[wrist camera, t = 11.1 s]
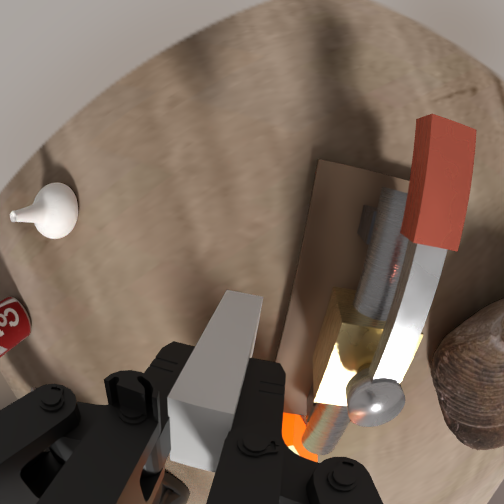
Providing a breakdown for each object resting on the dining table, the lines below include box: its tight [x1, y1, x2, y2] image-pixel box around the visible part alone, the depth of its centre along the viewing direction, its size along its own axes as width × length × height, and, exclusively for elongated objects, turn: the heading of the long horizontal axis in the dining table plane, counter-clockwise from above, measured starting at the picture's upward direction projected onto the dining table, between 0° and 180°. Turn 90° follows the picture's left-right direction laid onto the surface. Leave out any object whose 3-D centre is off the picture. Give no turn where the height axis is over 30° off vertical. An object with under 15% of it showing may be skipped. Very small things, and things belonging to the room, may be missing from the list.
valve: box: [301, 187, 423, 455], centre depth 21 cm, size 6×24×9 cm, turn 171°
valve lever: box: [345, 114, 476, 427], centre depth 14 cm, size 18×4×2 cm, turn 173°
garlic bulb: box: [10, 183, 78, 239], centre depth 25 cm, size 6×6×8 cm
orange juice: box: [282, 412, 317, 462], centre depth 24 cm, size 8×9×20 cm
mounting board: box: [275, 159, 409, 421], centre depth 26 cm, size 12×26×2 cm, turn 171°
